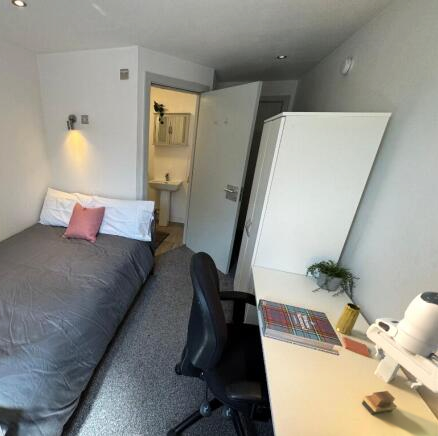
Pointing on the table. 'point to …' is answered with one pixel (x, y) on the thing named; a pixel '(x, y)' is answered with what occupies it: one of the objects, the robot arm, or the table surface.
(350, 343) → the tile
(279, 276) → the table surface
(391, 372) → the cosmetic box
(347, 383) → the table surface
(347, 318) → the vase
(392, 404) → the brush
